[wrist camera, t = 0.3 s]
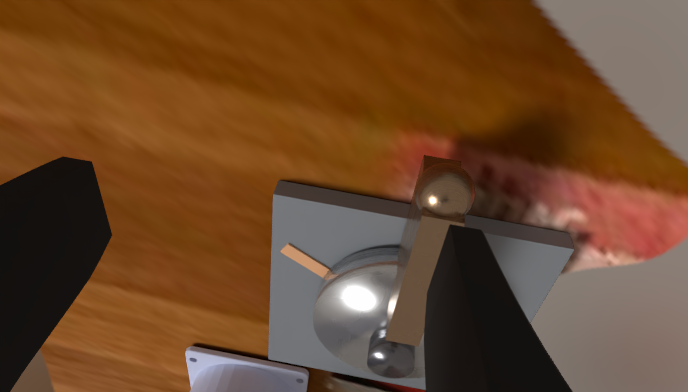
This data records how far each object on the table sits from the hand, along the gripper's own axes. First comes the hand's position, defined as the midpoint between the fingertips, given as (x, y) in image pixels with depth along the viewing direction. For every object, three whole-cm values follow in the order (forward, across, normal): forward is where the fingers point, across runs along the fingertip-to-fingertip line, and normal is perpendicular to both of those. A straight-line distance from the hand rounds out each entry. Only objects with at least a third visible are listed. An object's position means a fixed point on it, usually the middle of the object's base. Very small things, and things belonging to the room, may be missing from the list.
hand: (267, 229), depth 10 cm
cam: (+9, -4, +9) cm, 13 cm away
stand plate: (+10, -4, +13) cm, 17 cm away
